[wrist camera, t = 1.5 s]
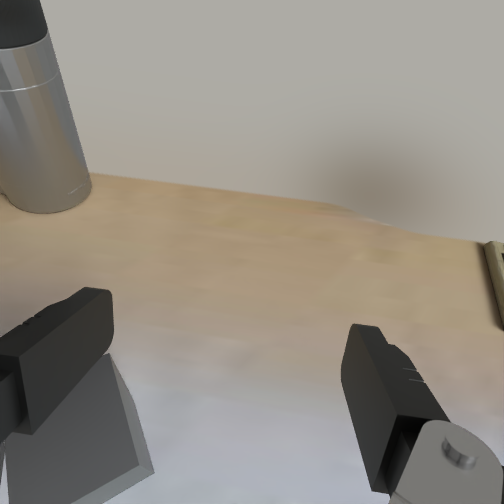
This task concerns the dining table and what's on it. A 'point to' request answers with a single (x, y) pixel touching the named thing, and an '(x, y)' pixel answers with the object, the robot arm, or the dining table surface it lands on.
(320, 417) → the dining table surface
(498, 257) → the computer
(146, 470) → the block
